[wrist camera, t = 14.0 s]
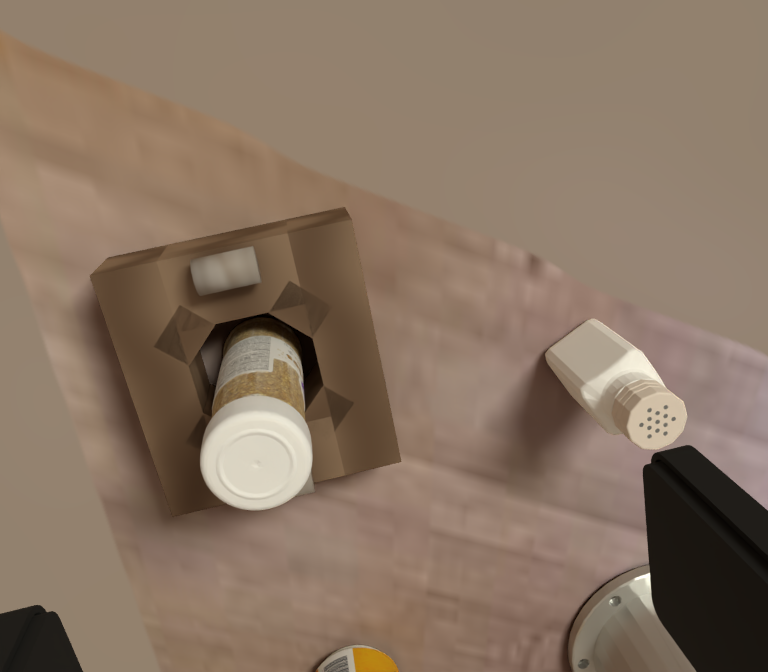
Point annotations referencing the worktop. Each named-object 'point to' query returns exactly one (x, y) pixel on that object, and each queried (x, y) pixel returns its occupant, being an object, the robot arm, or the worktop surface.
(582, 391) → the pepper shaker
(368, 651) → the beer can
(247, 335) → the sprinkles bottle
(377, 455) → the open brown cardboard box
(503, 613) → the worktop surface
